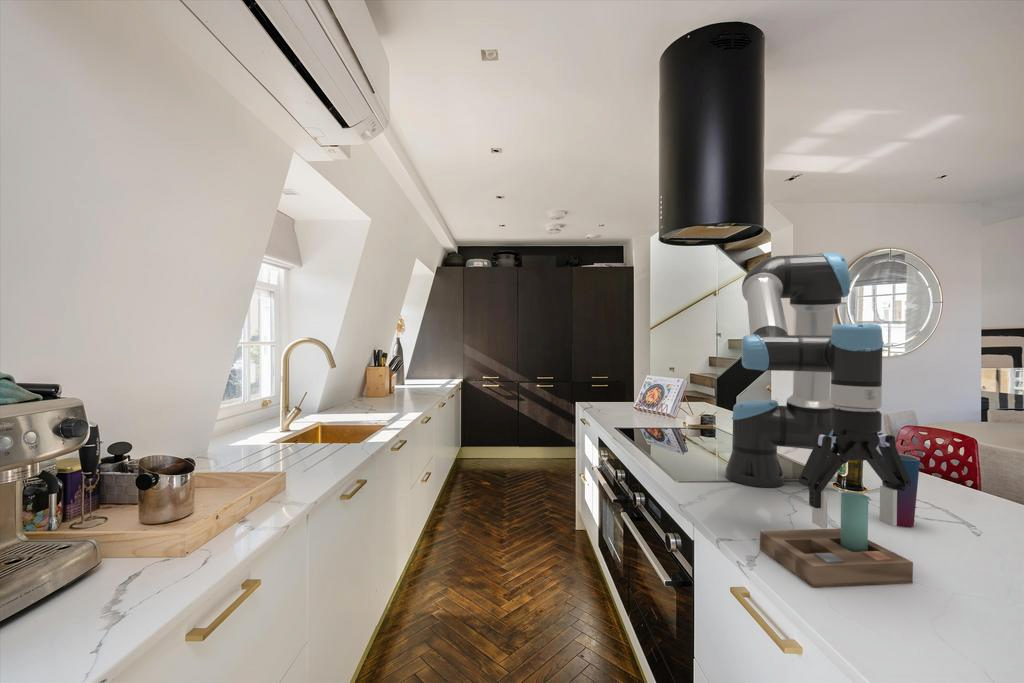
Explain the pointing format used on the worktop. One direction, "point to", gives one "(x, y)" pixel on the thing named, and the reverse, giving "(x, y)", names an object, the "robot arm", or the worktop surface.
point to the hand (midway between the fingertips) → (854, 524)
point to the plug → (854, 522)
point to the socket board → (834, 559)
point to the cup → (908, 492)
